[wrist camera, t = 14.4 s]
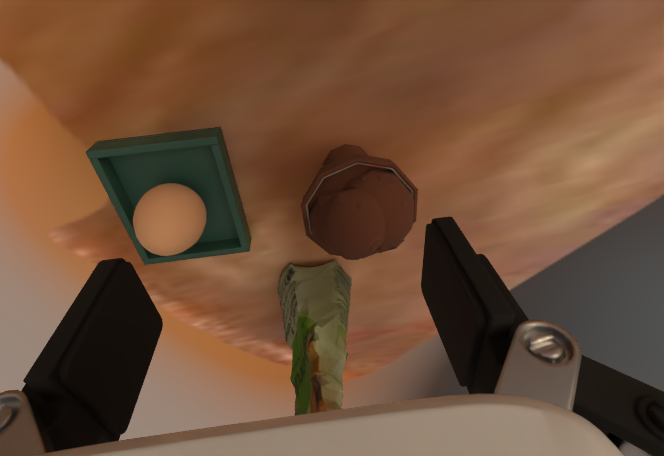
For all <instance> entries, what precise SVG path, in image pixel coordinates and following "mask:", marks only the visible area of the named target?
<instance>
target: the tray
mask: <svg viewBox="0 0 664 456" xmlns="http://www.w3.org/2000/svg"><path fill="white" fill-rule="evenodd" d="M86 154H87V156H88V158H89V159H90V161H91V163H92V165H93V167H94V169H95V171H96V173H97V175H98V177H99V179H100V180H101V182H102V184H103V186H104V188H105V190H106V192H107V194H108V196H109V198H110V200H111V201H112V203H113V205H114V207H115V209H116V211H117V213H118V215H119V217H120V219H121V220H122V222H123V224H124V226H125V228H126V230H127V232H128V234H129V236H130V238H131V239H132V241H133V243H134V245H135V247H136V249H137V251H138V253H139V255H140V257H141V258H142V260H143V262H144V264H145V265H146V264H154V263H162V262H170V261H178V260H186V259H193V258H201V257H209V256H217V255H225V254H233V253H241V252H249V251H250V244H251V235H250V232H249V228H248V225H247V221H246V217H245V214H244V210H243V206H242V203H241V199H240V196H239V192H238V188H237V185H236V181H235V177H234V174H233V170H232V167H231V163H230V159H229V156H228V152H227V148H226V145H225V141H224V138H223V134H222V130H221V127H217V128H208V129H200V130H191V131H183V132H174V133H166V134H157V135H149V136H140V137H132V138H123V139H114V140H106V141H97V142H96V143H95V144H94V145H93V146H92V147H91V148H89V149H88V150H87V151H86ZM166 183H177V184H181V185H184V186H187V187H189V188H190V189H192V190H193V191H195V192H196V193H197V194H198V195H199V196H200V198H201V199H202V201H203V203H204V205H205V208H206V213H207V214H206V225H205V228H204V230H203V233H202V235H201V236H200V238H199V239H198V241H197V242H196V243H195V244H194V245H193V246H191V247H190V248H188V249H187V250H185V251H183V252H181V253H178V254H175V255H170V256H160V255H157V254H154V253H151V252H150V251H148V250H147V249H145V248H144V247H143V246H142V245H141V244H140V242H139V240H138V239H137V237H136V234H135V230H134V226H133V216H134V211H135V208H136V206H137V204H138V202H139V201H140V199H141V198H142V196H143V195H144V194H145V193H146V192H148V191H149V190H150V189H152V188H154V187H156V186H158V185H161V184H166Z"/></svg>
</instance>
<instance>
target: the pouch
mask: <svg viewBox="0 0 664 456" xmlns="http://www.w3.org/2000/svg"><path fill="white" fill-rule="evenodd" d="M350 290H351V277H349V276H348V275H347V274H346V273H345V272H344V271H343V270H342V268H341V266H340V265H339V264H338V262H337V260H334V261H331V262H329V263H327V264H324V265H321V266H316V267H298V266H294V265H292V264H291V263H290V264H289V265H288V266H287V267H285V269H284V272H283V273H282V274H281V276H280V281H279V287H278V294H279V295H280V304H281V307H282V310H283V322H284V328H285V336H286V337H285V339H286V341H287V342H288V344H289V345H290V347H291V349H292V350H293V361H292V374H291V382H292V384H293V386H294V387H295V393H296V401H295V416H296V415H303V414H310V413H318V412H325V411H333V410H340V409H341V406H342V397H343V393H342V391H343V384H342V383H343V370H344V365H345V361H346V359H347V355H348V353H347V352H346V349H345V348H346V337H347V325H348V313H349V306H350Z"/></svg>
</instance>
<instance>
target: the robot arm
mask: <svg viewBox="0 0 664 456" xmlns="http://www.w3.org/2000/svg"><path fill="white" fill-rule="evenodd" d="M421 288H422V293H423V296H424V298H425V301H426V303H427V306H428V308H429V311H430V313H431V316H432V318H433V320H434V323H435V325H436V328H437V330H438V333H439V335H440V338H441V340H442V343H443V345H444V347H445V350H446V352H447V355H448V357H449V360H450V362H451V364H452V367H453V369H454V372H455V374H456V377H457V379H458V382H459V384H460V385H461V386H466V387H467V389H468V391H469V394H467V395H452V396H443V397H434V398H425V399H417V400H408V401H400V402H392V403H385V404H377V405H370V406H363V407H355V408H348V409H340V410H333V411H325V412H318V413H310V414H303V415H296V416H289V417H282V418H275V419H267V420H261V421H253V422H246V423H239V424H232V425H224V426H217V427H210V428H203V429H197V430H189V431H183V432H176V433H169V434H162V435H155V436H148V437H141V438H134V439H127V440H121V441H119V438H120V435H121V434H123V433H124V432H125V431H126V430H127V427H128V425H129V422H130V419H131V416H132V414H133V411H134V408H135V405H136V402H137V399H138V396H139V393H140V390H141V388H142V385H143V382H144V379H145V376H146V374H147V371H148V368H149V365H150V362H151V359H152V356H153V354H154V351H155V348H156V345H157V342H158V339H159V336H160V333H161V331H162V326H163V324H162V318H161V316H160V314H159V313H158V311H157V309H156V307H155V305H154V303H153V302H152V300H151V298H150V296H149V294H148V293H147V291H146V289H145V287H144V285H143V284H142V282H141V280H140V278H139V276H138V275H137V273H136V271H135V269H134V267H133V266H132V264H131V263H130V262H126V261H125V260H124V259H122V258H118V259H110V260H103V261H100V262H99V263H98V265H97V266H96V268H95V270H94V271H93V273H92V274H91V276H90V277H89V279H88V280H87V282H86V284H85V285H84V287H83V288H82V290H81V291H80V293H79V294H78V296H77V297H76V299H75V301H74V302H73V304H72V305H71V307H70V308H69V310H68V312H67V313H66V315H65V316H64V318H63V320H62V321H61V323H60V324H59V326H58V327H57V329H56V330H55V332H54V334H53V335H52V336H51V338H50V340H49V341H48V343H47V344H46V346H45V347H44V349H43V351H42V352H41V354H40V355H39V357H38V358H37V360H36V362H35V363H34V365H33V366H32V368H31V369H30V371H29V373H28V374H27V376H26V377H25V379H24V382H25V383H26V384H25V386H24V387H23V389H22V391H19V390H8V391H5V392H2V393H0V456H664V392H663V391H661V390H658V389H656V388H654V387H652V386H649V385H647V384H645V383H643V382H640V381H639V380H636V379H634V378H632V377H630V376H627V375H625V374H623V373H621V372H618V371H616V370H614V369H612V368H610V367H607V366H605V365H603V364H601V363H599V362H596V361H594V360H592V359H590V358H587V357H585V356H583V355H581V348H580V346H579V344H578V342H577V340H576V339H575V338H574V337H573V336H572V335H571V333H569V332H568V331H566V330H565V329H564V328H562V327H560V326H558V325H556V324H554V323H552V322H548V321H544V320H528V318H527V317H526V315H525V314H524V312H523V311H522V309H521V308H520V306H519V305H518V303H517V302H516V300H515V299H514V297H513V296H512V295H511V293H510V292H509V290H508V289H507V287H506V286H505V284H504V283H503V281H502V280H501V278H500V277H499V275H498V274H497V272H496V271H495V269H494V268H493V266H492V265H491V263H490V262H489V260H488V259H487V258H486V257H485V256H484V255H483V254H476V253H475V251H474V250H473V248H472V247H471V245H470V244H469V242H468V241H467V239H466V238H465V236H464V234H463V233H462V231H461V230H460V228H459V227H458V225H457V224H456V222H455V221H454V219H453V218H452V217H443V218H435V219H433V220H432V223H431V224H427V226H426V234H425V245H424V257H423V268H422V280H421Z"/></svg>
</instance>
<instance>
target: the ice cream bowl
mask: <svg viewBox="0 0 664 456" xmlns="http://www.w3.org/2000/svg"><path fill="white" fill-rule="evenodd" d="M323 166H324V167H323V168H321V169H320V171H319V172H318V174H317V176H316V177H315V179H314V181H313V182H312V184H311V186H310V187H309V189H308V191H307V192H306V194H305V195H304V197H303V200H302V203H301V208H302V214H303V220H304V225H305V231H306V236H308V237H309V238H310V239H311V240H313V241H314V242H315V243H316V244H318V245H319V246H320V247H321V248H323V249H324V250H325V251H326V252H328V253H329V254H330V255H338V256H342V257H343V258H345V259H349V260H358V259H360V258H365V257H367V256H370V255H373V254H375V253H381V252H383V251H388V250H392V249H395V248H397V247H398V246H399V245H400V244H401V243H402V242H403V241H404V240H403V239H404V238H405V236H406V235H407V234H408V233H409V231H410V230H411V228H412V225H413V223H414V222H415V221H416V211H417V191H418V189H417V188H416V187H415V186H414V185H413V183H412V182H411V181H410V180H409V179H408V178H407V177H406V175H405V174H404V173H403V172H402V171H401V170H400V169H399V168H398V166H397V165H396V164H395V163H393V162H392V161H391V160H389V159H383V158H377V157H371V156H368V155H367V154H366V153H365V152H364V150H363V149H362V148H361V147H357V146H352V145H346V144H345V145H343V146H341V147H338V148H336V149H334V150H332V151H331V152H330V153H329V155H328V157H327V158H326V160H325V161H324V163H323Z"/></svg>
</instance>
